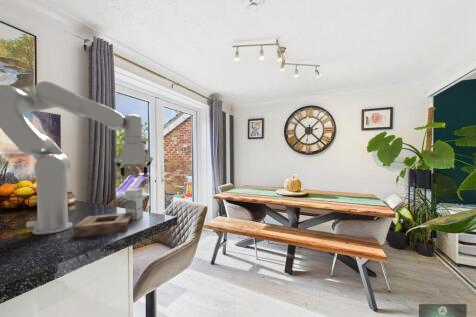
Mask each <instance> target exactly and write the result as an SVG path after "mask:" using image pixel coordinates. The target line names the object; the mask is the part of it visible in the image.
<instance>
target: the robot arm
mask: <svg viewBox="0 0 476 317" xmlns="http://www.w3.org/2000/svg"><path fill="white" fill-rule="evenodd" d="M54 108H59V109H60V110H63V111H65V112H67V113H70V114H72V115H75V116H77V117H85V118H88V119H91V120H94V121H95V122H99V123H101V124H102V125H105V126H106V127H107V128H108V129H110V130H112V131H124V133H123V134H124V137H122V138H121V139H120V141H121V142H124V143H122V147H121V155H120V156H117V157H115V158H113V161H114V163H115V164H116V166H117V167H118V168H119V170H120V175H121V176H122V177H125V176H126V169H125V166H126V165H138V164H139V165H141V164H142V165H143V175H144V176H147V174H149V173H148V168H149V166H150V165H151V164H152V162H153V161H154V157H152V156H149V155H148V154H147V155H146V148H145V145H144V142H143V136H142V135H143V134H142V132H143V129H142V118H141V116H140V115H138V114H126V115H125V116H123V115H122V113H120V112H118V111H117V110H115V109H113V108H111V107H108V106H107V105H104V104H102V103H99V102H97V101H94V100H91V99H90V98H89V99H88V98H86V97H84V96H82V95H80V94H77V93H75V92H73V91H71V90H68V89H67V88H64V87H62V86H60V85H58V84H56V83H54V82H50V81H40V82H38V83H36V84H35V86H34V90H31V91H23V90H21V89H20V88H17V87H15V86H13V85H9V84H0V129H1V131H2V132H3V133H4V135H6V137H8V139H9V140H10V141H11V142H12V143H13V144H14V145H15V146H16V148H17V149H18V150H19V151H20V152H21V153H23V154H25V155H27V156H32V157H33V158H34V159H35V163H34V176H35V182H36V200H37V201H36V202H37V203H36V207H37V208H36V209H37V210H36V211H37V220H35V221H33V220H32V221H27V222H26V223H25V224H26V225H25V226H26V228H33V229H32V234H33V235H40V236H41V235H49V234H54V233H55V234H56V233H60V232H64V231H67V230H68V229H71V228H73V222H69V215H68V214H69V213H68V210H69V209H68V181H67V172H68V171H70V169H71V161H70V159H69V157H68V156H67V155H66V154H65V153H64V152H63V151H62V150H61V148H60V147H59V146H58V145H57V143H56V142H55V141H54V140H53V139H51V138H50V137H49V136H48V135H46V134H44V133H41V132H40V131H38V130H37V128H36V127H35V126H34V125H33V124H32V123H31V122H30V121H29V119H28V118H27V117H26V116H25V115H24V113H25V114H26V113H33V112H38V111H43V110H49V109H54ZM146 159H147V160H149V161H148V162H146ZM120 160H121V163H120V162H119V161H120Z"/></svg>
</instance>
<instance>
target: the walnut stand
mask: <svg viewBox="0 0 476 317" xmlns="http://www.w3.org/2000/svg"><path fill="white" fill-rule="evenodd" d="M133 222H134V220H133V213H126V212H124V213H121V212H120V213H113V214H112V213H110V214H99V215H87V216H86V217H85V218H84V219H82V220H81V221H79V222H78V223H77V224H75V225H74V226H72V230H73V231H72V232H73V233H72V235H73V238H81V237H83V238H84V237H93V236H101V235H110V234H120V233H127V232H128V231H129V229H128V228H129V227H128V225H129V223H133Z"/></svg>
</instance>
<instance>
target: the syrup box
mask: <svg viewBox="0 0 476 317" xmlns="http://www.w3.org/2000/svg"><path fill="white" fill-rule="evenodd" d="M124 191H125V194H124V195H125V213H133V221H138V220H140V219H142V218H143V217H144V211H143V210H144V209H143V207H144V206H143V188H142V187H140V188H135V187H134V188H133V187H132V188H127V189H125V190H124ZM141 217H142V218H141Z"/></svg>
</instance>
